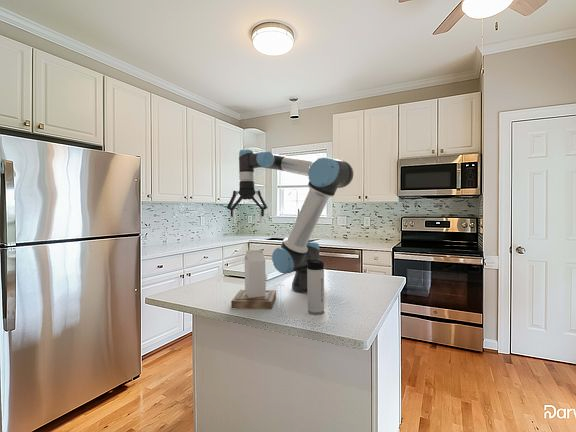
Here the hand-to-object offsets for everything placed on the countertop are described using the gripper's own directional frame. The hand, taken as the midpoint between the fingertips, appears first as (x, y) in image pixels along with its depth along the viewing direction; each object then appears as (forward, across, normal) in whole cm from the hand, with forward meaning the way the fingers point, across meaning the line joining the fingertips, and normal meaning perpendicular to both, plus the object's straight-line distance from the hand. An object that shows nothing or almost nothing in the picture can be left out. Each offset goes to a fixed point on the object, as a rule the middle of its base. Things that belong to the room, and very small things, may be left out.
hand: (247, 223), depth 155 cm
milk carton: (+29, -8, +27) cm, 40 cm away
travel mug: (+32, -33, +38) cm, 60 cm away
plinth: (+32, -8, +27) cm, 42 cm away
